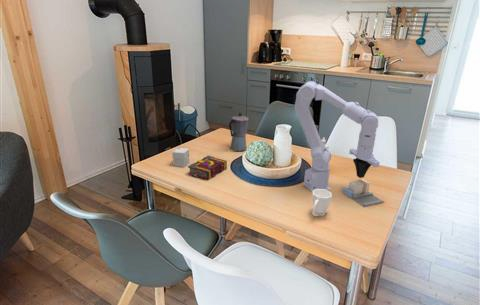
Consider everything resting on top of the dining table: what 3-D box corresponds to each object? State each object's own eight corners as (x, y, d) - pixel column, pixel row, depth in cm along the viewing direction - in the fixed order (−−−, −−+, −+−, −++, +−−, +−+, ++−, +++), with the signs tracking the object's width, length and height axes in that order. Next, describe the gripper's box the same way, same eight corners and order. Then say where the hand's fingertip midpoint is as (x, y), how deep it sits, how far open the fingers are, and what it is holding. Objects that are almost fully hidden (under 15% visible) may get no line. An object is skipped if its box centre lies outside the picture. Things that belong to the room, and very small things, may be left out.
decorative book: (227, 169, 151) (227, 159, 149) (206, 182, 138) (206, 171, 137) (208, 163, 157) (207, 154, 155) (186, 176, 144) (185, 165, 142)
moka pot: (252, 147, 178) (254, 111, 171) (238, 155, 166) (238, 118, 159) (238, 143, 183) (238, 109, 176) (223, 151, 171) (222, 115, 164)
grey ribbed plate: (362, 208, 120) (364, 201, 119) (341, 192, 131) (342, 185, 130) (384, 203, 123) (385, 196, 122) (361, 188, 134) (362, 182, 133)
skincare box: (184, 167, 152) (183, 153, 149) (172, 166, 153) (171, 151, 150) (189, 162, 157) (189, 148, 154) (178, 161, 159) (177, 147, 156)
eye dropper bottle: (324, 162, 160) (327, 139, 155) (314, 159, 163) (316, 137, 158) (328, 160, 163) (331, 137, 158) (318, 157, 166) (320, 135, 162)
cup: (332, 211, 118) (335, 192, 115) (322, 224, 110) (324, 203, 107) (314, 205, 121) (316, 186, 118) (303, 217, 114) (305, 197, 111)
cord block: (353, 196, 127) (355, 185, 125) (347, 192, 130) (349, 181, 128) (367, 193, 129) (369, 182, 127) (361, 189, 132) (363, 178, 130)
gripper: (388, 149, 117) (381, 183, 122) (361, 137, 129) (356, 168, 134) (372, 152, 115) (366, 186, 120) (347, 139, 127) (342, 170, 132)
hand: (360, 176), depth 127 cm, fingers closed
